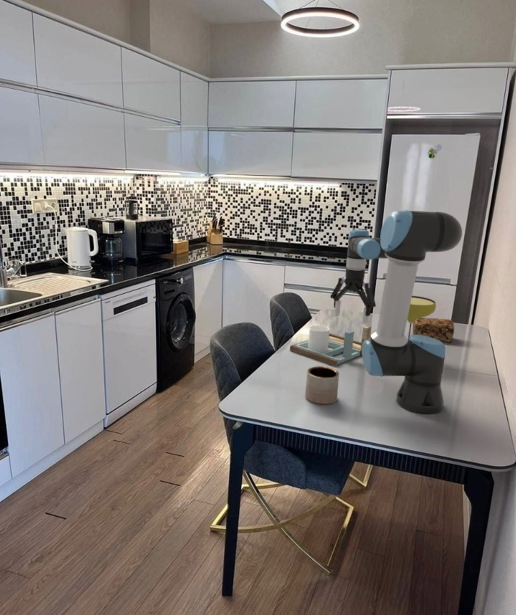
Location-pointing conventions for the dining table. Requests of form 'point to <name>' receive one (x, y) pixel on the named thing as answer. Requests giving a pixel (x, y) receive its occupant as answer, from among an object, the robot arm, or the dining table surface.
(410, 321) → the cocktail glass
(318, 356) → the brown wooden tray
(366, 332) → the light wood drawer
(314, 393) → the planter
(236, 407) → the dining table surface
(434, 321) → the bread
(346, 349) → the teal divided frame
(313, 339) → the mug
